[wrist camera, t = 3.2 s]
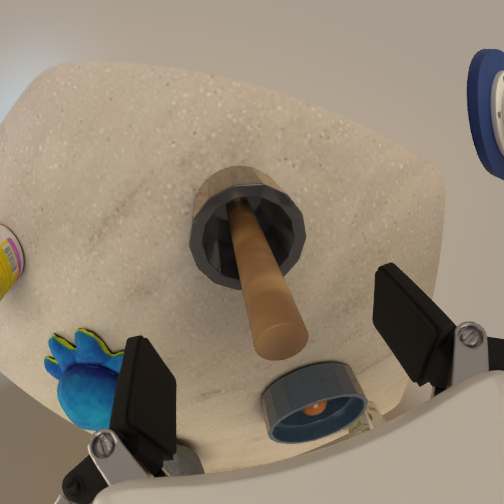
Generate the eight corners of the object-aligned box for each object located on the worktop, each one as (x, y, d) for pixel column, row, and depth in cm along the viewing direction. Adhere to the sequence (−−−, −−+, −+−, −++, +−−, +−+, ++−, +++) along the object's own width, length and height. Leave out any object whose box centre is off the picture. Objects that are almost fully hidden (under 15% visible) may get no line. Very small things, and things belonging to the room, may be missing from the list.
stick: (248, 196, 21) (306, 316, 9) (254, 219, 22) (310, 351, 10) (224, 203, 21) (248, 332, 9) (230, 226, 22) (261, 366, 10)
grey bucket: (121, 415, 34) (114, 496, 21) (223, 433, 40) (233, 508, 27) (119, 447, 41) (115, 506, 28) (197, 460, 46) (202, 517, 33)
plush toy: (116, 315, 25) (97, 378, 18) (185, 400, 33) (185, 451, 26) (26, 339, 25) (3, 385, 18) (96, 410, 33) (89, 452, 26)
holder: (272, 155, 20) (295, 169, 15) (288, 237, 24) (311, 273, 19) (182, 179, 20) (173, 202, 15) (209, 259, 24) (210, 302, 19)
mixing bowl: (354, 346, 33) (373, 379, 28) (350, 395, 40) (362, 423, 35) (250, 378, 33) (258, 417, 27) (270, 420, 40) (277, 450, 34)
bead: (321, 380, 35) (330, 402, 31) (322, 393, 36) (330, 414, 33) (294, 389, 34) (301, 412, 31) (297, 401, 36) (304, 423, 33)
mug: (342, 424, 46) (357, 462, 37) (331, 404, 40) (350, 451, 31) (378, 406, 45) (397, 443, 37) (375, 382, 39) (398, 427, 31)
